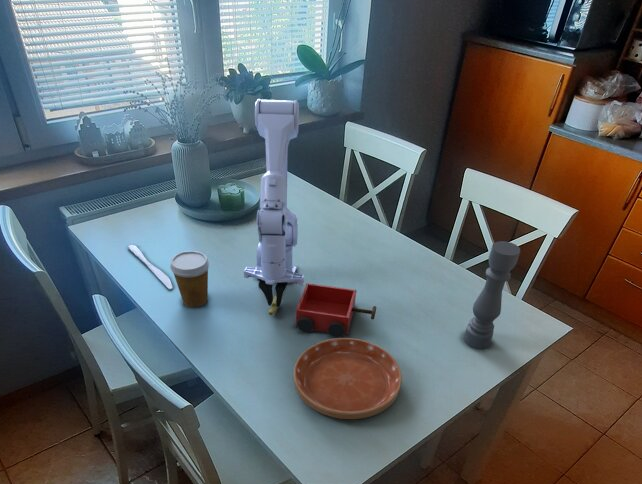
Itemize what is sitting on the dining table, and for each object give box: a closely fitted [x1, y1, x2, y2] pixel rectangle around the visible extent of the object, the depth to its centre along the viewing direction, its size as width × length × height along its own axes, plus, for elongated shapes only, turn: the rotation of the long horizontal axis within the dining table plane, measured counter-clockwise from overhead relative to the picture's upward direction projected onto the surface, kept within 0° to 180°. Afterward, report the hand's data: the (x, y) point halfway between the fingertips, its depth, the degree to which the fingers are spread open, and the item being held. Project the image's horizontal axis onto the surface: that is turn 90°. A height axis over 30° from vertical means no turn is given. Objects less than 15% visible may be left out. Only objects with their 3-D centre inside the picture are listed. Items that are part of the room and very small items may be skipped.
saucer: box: [293, 337, 403, 420], centre depth 110 cm, size 23×23×4 cm
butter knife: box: [128, 244, 174, 290], centre depth 144 cm, size 1×27×3 cm
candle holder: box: [463, 240, 521, 350], centre depth 115 cm, size 6×6×25 cm
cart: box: [295, 282, 357, 336], centre depth 127 cm, size 13×12×5 cm
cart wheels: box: [296, 305, 377, 338], centre depth 127 cm, size 18×14×4 cm
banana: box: [268, 295, 279, 316], centre depth 129 cm, size 8×2×4 cm, turn 170°
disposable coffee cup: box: [169, 250, 210, 308], centre depth 129 cm, size 10×10×12 cm
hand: (274, 304), depth 129 cm, fingers closed on banana, 1 cm apart
